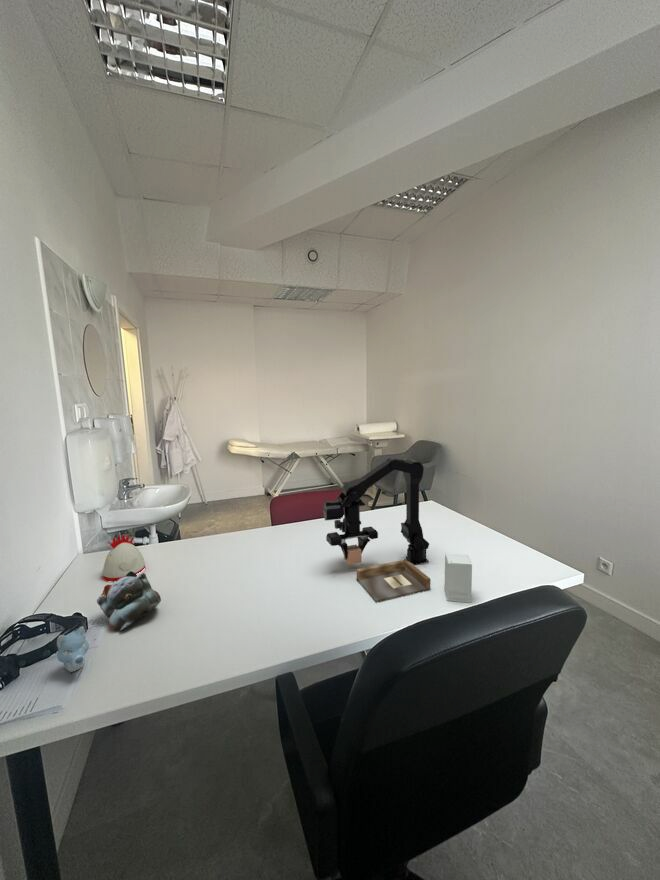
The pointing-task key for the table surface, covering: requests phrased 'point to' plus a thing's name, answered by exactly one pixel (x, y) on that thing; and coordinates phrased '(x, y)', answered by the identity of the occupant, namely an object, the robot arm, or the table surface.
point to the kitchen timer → (122, 559)
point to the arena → (392, 580)
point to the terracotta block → (353, 555)
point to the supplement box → (458, 577)
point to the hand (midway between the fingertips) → (352, 557)
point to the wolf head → (72, 649)
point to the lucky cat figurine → (128, 600)
